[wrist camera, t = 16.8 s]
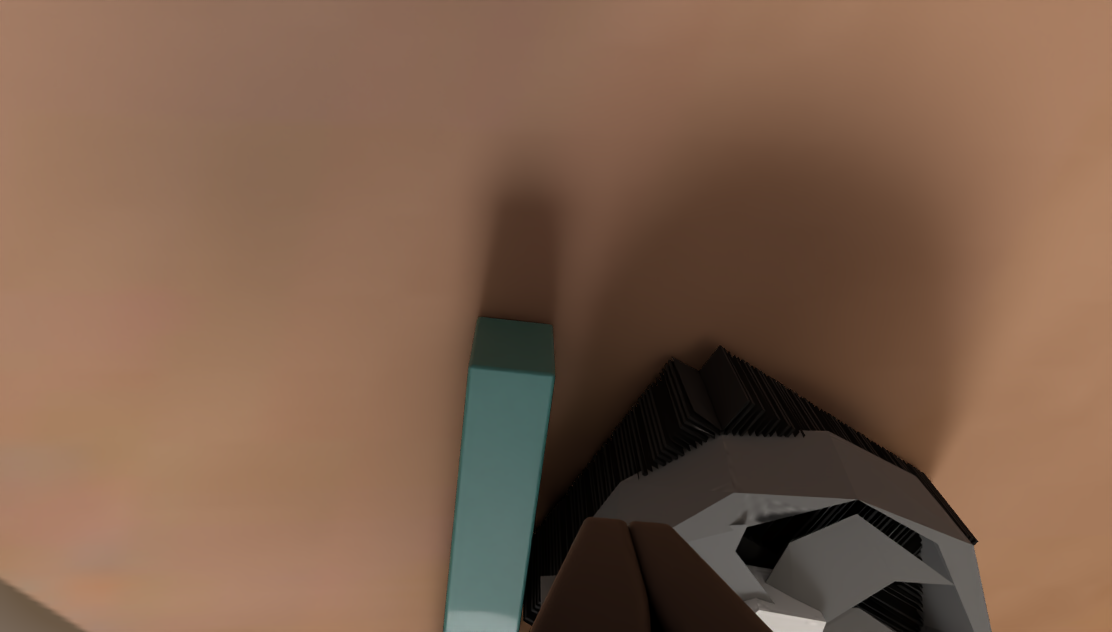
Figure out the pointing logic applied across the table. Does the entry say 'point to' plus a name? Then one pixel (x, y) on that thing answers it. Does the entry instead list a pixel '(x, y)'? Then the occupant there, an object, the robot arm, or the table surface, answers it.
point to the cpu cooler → (776, 508)
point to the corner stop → (499, 473)
